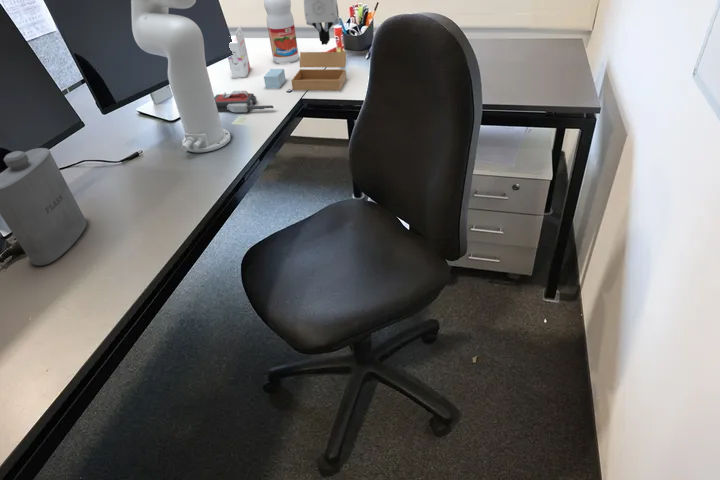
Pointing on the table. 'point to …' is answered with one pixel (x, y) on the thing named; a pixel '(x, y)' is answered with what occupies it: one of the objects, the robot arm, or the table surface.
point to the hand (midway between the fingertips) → (325, 43)
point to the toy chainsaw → (237, 102)
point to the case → (274, 78)
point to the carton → (319, 79)
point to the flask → (39, 205)
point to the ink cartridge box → (238, 56)
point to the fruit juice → (281, 31)
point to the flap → (322, 59)
